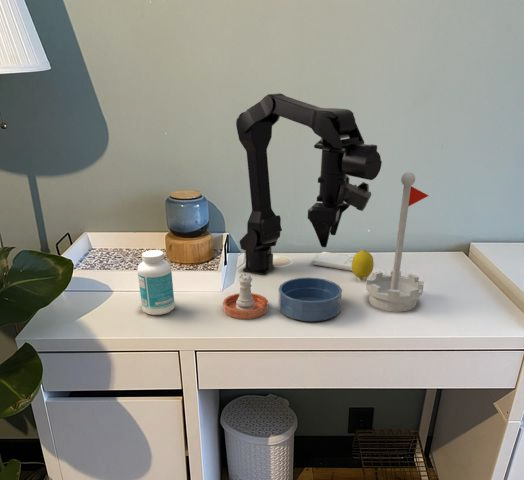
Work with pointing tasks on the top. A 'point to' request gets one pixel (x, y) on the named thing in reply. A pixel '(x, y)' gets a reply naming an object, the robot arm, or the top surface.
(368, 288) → the flag stand
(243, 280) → the rook chess piece
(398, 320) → the top surface
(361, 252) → the lemon
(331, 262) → the hard drive
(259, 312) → the orange round lid
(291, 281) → the bowl
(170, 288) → the pill bottle
